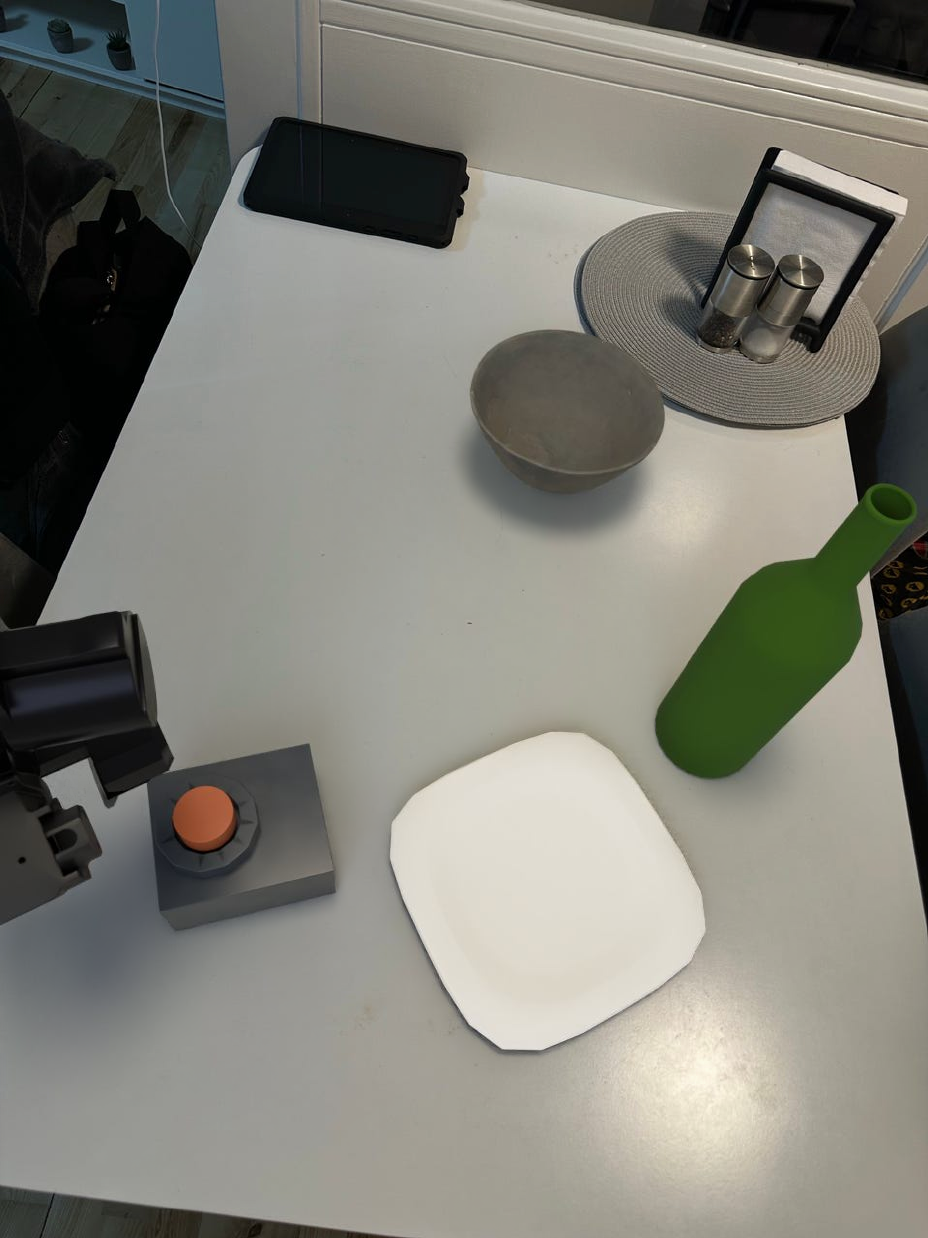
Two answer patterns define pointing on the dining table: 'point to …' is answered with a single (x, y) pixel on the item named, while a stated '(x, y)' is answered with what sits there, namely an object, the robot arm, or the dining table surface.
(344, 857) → the dining table surface
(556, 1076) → the dining table surface
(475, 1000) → the plate
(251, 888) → the control block
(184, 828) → the button
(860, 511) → the wine bottle
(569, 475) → the bowl
